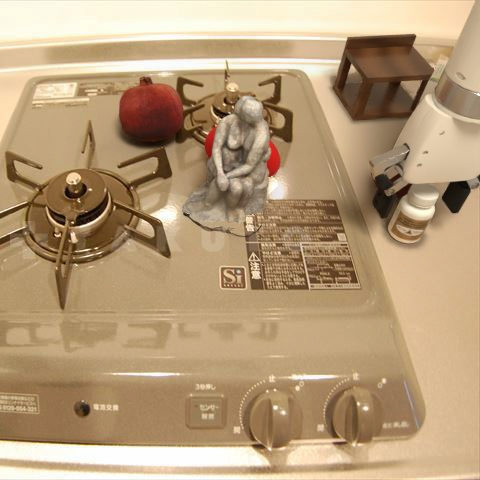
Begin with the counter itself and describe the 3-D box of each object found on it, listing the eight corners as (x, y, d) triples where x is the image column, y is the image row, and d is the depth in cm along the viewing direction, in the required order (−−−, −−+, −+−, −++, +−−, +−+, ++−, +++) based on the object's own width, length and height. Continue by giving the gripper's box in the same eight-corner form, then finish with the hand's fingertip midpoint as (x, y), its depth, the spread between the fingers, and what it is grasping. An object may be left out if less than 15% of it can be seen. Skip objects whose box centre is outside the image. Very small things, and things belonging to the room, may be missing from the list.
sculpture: (182, 80, 67) (269, 71, 70) (170, 194, 79) (244, 182, 82) (217, 130, 59) (312, 117, 62) (198, 247, 72) (278, 231, 75)
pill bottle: (387, 241, 74) (408, 199, 68) (386, 218, 77) (406, 176, 71) (421, 247, 73) (445, 205, 67) (419, 224, 76) (441, 182, 70)
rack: (395, 84, 101) (414, 33, 93) (420, 116, 94) (443, 63, 87) (332, 88, 99) (347, 36, 92) (353, 120, 93) (371, 67, 85)
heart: (210, 98, 77) (214, 139, 86) (194, 128, 76) (199, 166, 85) (289, 123, 74) (285, 163, 83) (274, 155, 72) (271, 192, 81)
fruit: (110, 148, 88) (98, 84, 84) (155, 132, 94) (145, 72, 90) (156, 152, 80) (144, 82, 76) (201, 134, 86) (192, 69, 82)
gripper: (526, 71, 62) (461, 185, 75) (383, 77, 60) (340, 193, 73) (569, 108, 57) (491, 224, 70) (414, 117, 55) (362, 234, 68)
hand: (414, 208), depth 71 cm, fingers open, 9 cm apart
